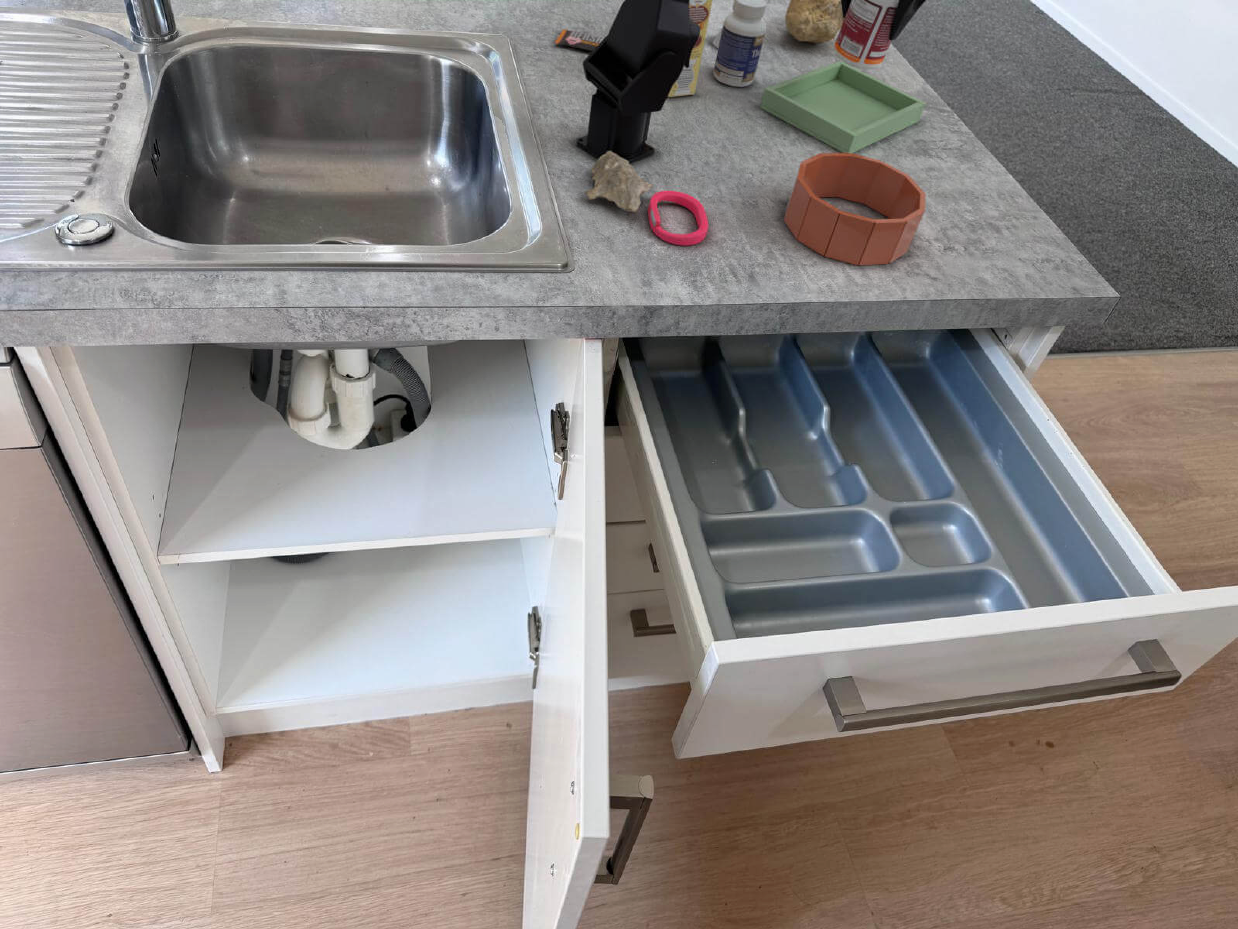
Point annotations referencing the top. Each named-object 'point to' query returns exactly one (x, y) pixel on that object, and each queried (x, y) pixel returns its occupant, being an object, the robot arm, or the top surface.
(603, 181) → the artifact
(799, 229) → the segmented terracotta ring
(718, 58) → the pill bottle
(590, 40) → the chocolate bar
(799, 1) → the tan rock
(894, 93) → the tray
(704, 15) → the candy box
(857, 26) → the pill bottle
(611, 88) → the robot arm
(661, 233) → the fitness band
